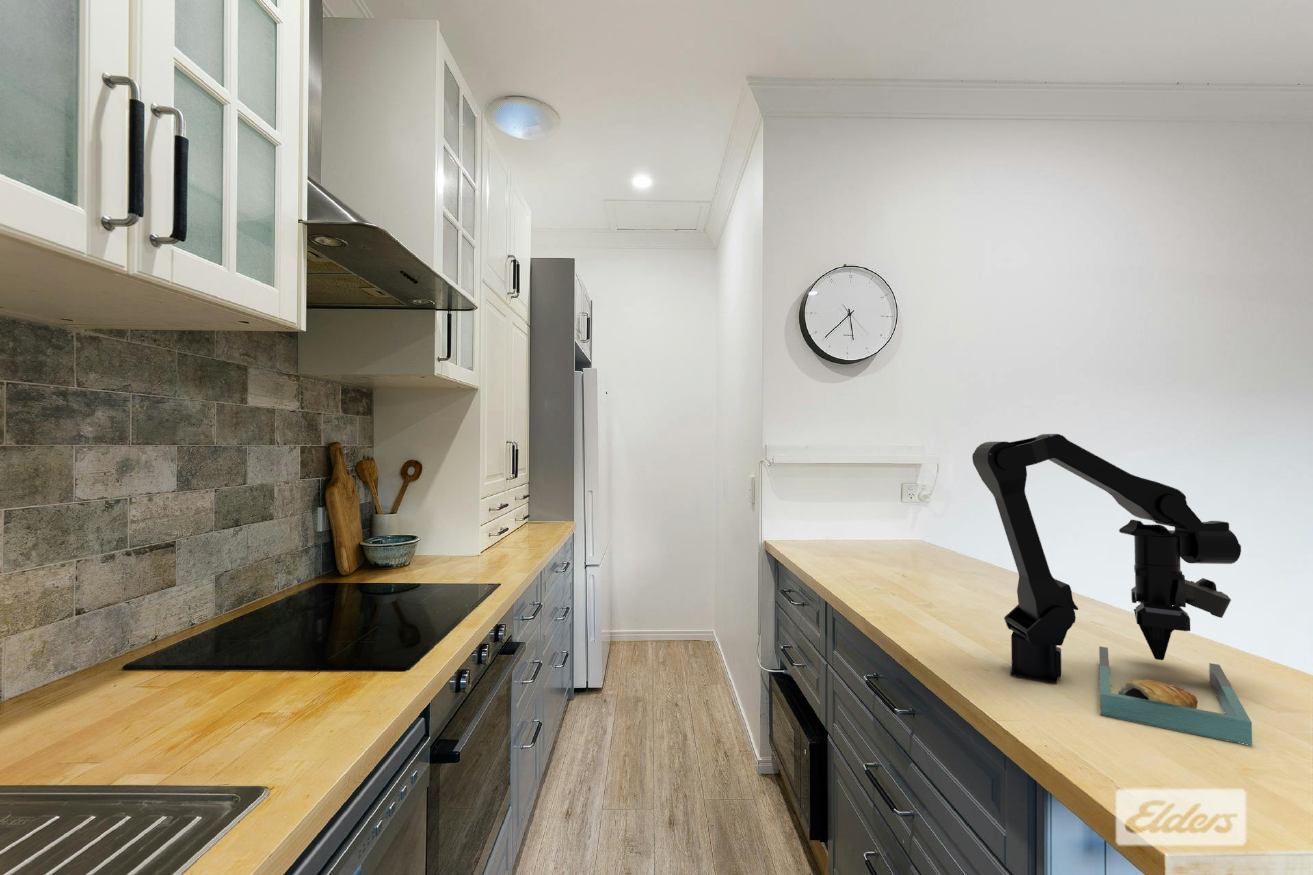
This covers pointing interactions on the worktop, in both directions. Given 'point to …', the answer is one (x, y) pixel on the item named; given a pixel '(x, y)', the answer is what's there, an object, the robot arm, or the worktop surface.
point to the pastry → (1159, 693)
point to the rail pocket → (1180, 709)
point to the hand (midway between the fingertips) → (1159, 659)
